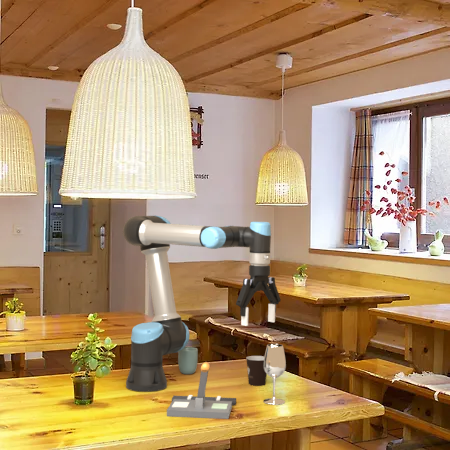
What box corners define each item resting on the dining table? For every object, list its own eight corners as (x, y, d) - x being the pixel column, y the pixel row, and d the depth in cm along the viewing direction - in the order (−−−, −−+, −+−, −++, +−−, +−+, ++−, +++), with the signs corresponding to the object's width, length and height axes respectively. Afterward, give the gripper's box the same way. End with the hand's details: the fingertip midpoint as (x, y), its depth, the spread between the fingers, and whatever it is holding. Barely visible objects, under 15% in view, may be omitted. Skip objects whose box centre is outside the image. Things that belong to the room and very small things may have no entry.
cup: (195, 376, 301) (195, 351, 301) (176, 375, 302) (176, 350, 302) (198, 371, 309) (199, 347, 308) (180, 370, 310) (180, 346, 310)
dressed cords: (171, 403, 259) (171, 397, 259) (173, 399, 264) (173, 394, 264) (235, 406, 257) (235, 400, 257) (236, 402, 262) (236, 396, 262)
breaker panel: (166, 416, 243) (167, 400, 243) (173, 404, 257) (173, 389, 257) (228, 418, 242) (228, 402, 242) (231, 407, 256) (232, 392, 255)
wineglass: (289, 402, 264) (290, 345, 263) (275, 406, 258) (277, 348, 257) (272, 398, 269) (273, 342, 268) (258, 402, 263) (259, 345, 262)
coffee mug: (266, 387, 284) (267, 361, 284) (244, 385, 286) (244, 359, 286) (270, 380, 296) (271, 355, 295) (249, 379, 297) (249, 353, 297)
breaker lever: (195, 402, 248) (201, 363, 247) (196, 399, 252) (202, 361, 251) (203, 404, 247) (209, 365, 247) (204, 400, 251) (210, 362, 251)
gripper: (241, 267, 259) (240, 328, 259) (291, 264, 276) (289, 321, 276) (226, 265, 264) (225, 325, 265) (276, 262, 281) (274, 319, 282)
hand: (258, 323), depth 271 cm, fingers open, 13 cm apart
